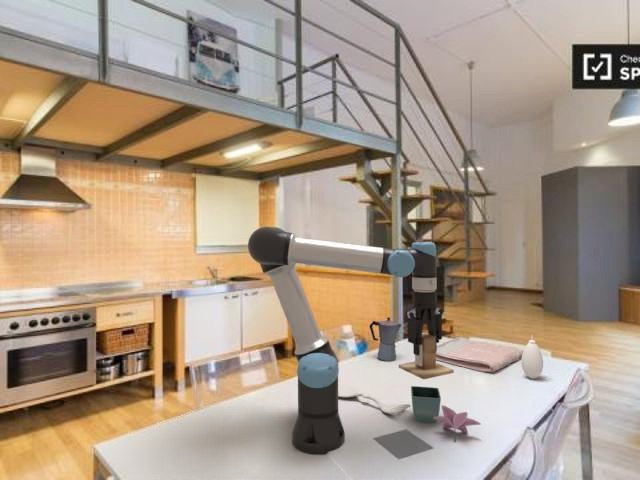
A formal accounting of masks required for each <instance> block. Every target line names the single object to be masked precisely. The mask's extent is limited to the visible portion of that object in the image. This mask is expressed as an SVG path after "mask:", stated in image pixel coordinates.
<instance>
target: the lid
mask: <svg viewBox="0 0 640 480" xmlns="http://www.w3.org/2000/svg"><path fill="white" fill-rule="evenodd" d="M420 344H421V345H422V352H423V366H419V365H417V364H415V361H412V362H411V361H410V362H406V363H401V364H400V363H399V364H398V369H401V370H403V371H405V372H407V373H408V374H412V375H414V376H416V377H417V378H420V379H422V380H427V379H432V378H437V377H441V376H446V375H450V374H454V373H455V370H454V369H452V368H450V367H448V366H445V365H442V364H440V363H439V362H437V360H436V337H435V336H432V335H429V333H422V337H421V342H420Z"/></svg>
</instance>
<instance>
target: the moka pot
mask: <svg viewBox="0 0 640 480" xmlns="http://www.w3.org/2000/svg"><path fill="white" fill-rule="evenodd" d="M373 326H376V327H377V326H378V336H379V338H376V336H375V331H374V327H373ZM401 327H402V324H401V323H399V322H395V321H392V320H391V317H390V316H389V317H386V320H381V321H377V320H376V321H375V320H373V321H372V322H371V323H370V324H369V330H370V333H371V335H372V339H373V341H379V344H378V345H379V346H378V351H377V359H378V360H381V361H385V362H393V361H396V359H397V352H396V344H395V343H396V339H397V336H398V335H397V334H398V332H399V330H400V329H401Z"/></svg>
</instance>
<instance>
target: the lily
mask: <svg viewBox="0 0 640 480" xmlns="http://www.w3.org/2000/svg"><path fill="white" fill-rule="evenodd" d="M441 410H442V415H441V416H440V415H438V416H437V417H433V418H434V419H437V420H436V421H440V422H442V428H443V429H448V430H449V429H453V430H454V431H453V433H454V434H453V436H454V437H453V438H454V441H453V442H454V443H456V440H457V439H456V432H457V431H456V430H459V431H460V432H461V433H465V434H468V428H467V427H469V426H481V425H482V423H481V422H479V421H478V420H475V419H472V418H468V412H467V411H465V412H459V413H457V412H455V411H456V410H453V409H451V408H450V407H448V406H446V405H443V404H442V405H441Z"/></svg>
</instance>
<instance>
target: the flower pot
mask: <svg viewBox="0 0 640 480" xmlns="http://www.w3.org/2000/svg"><path fill="white" fill-rule="evenodd" d="M410 391H411V406H412V412H413V415H414V418H415V419H416V421H417V422H419V423H422V422H423V423H431V424H433V423H436V421H438V420H437V419H434V418H433V417H437V416H440V410H441V409H440V408H441V401H442V398H441V394H440V393H441V392H440V389H439V388H438V387H429V386H428V387H427V386H416V385H411V386H410Z"/></svg>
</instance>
